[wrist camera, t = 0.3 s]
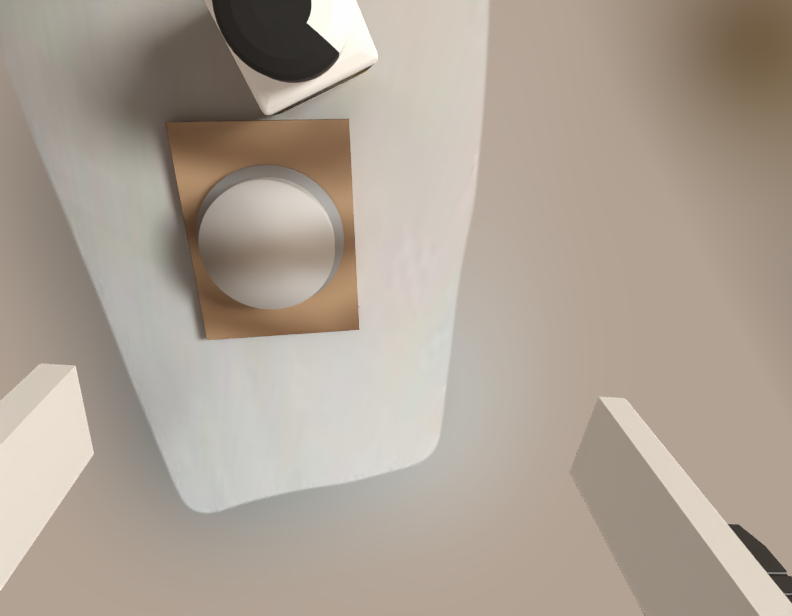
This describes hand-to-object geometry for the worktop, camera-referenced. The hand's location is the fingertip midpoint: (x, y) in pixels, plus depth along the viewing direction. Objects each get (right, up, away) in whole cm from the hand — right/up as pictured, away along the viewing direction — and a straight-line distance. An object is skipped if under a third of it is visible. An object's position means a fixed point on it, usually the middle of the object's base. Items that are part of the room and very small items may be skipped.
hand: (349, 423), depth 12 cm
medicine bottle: (-5, +21, +19) cm, 29 cm away
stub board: (-8, +9, +23) cm, 26 cm away
